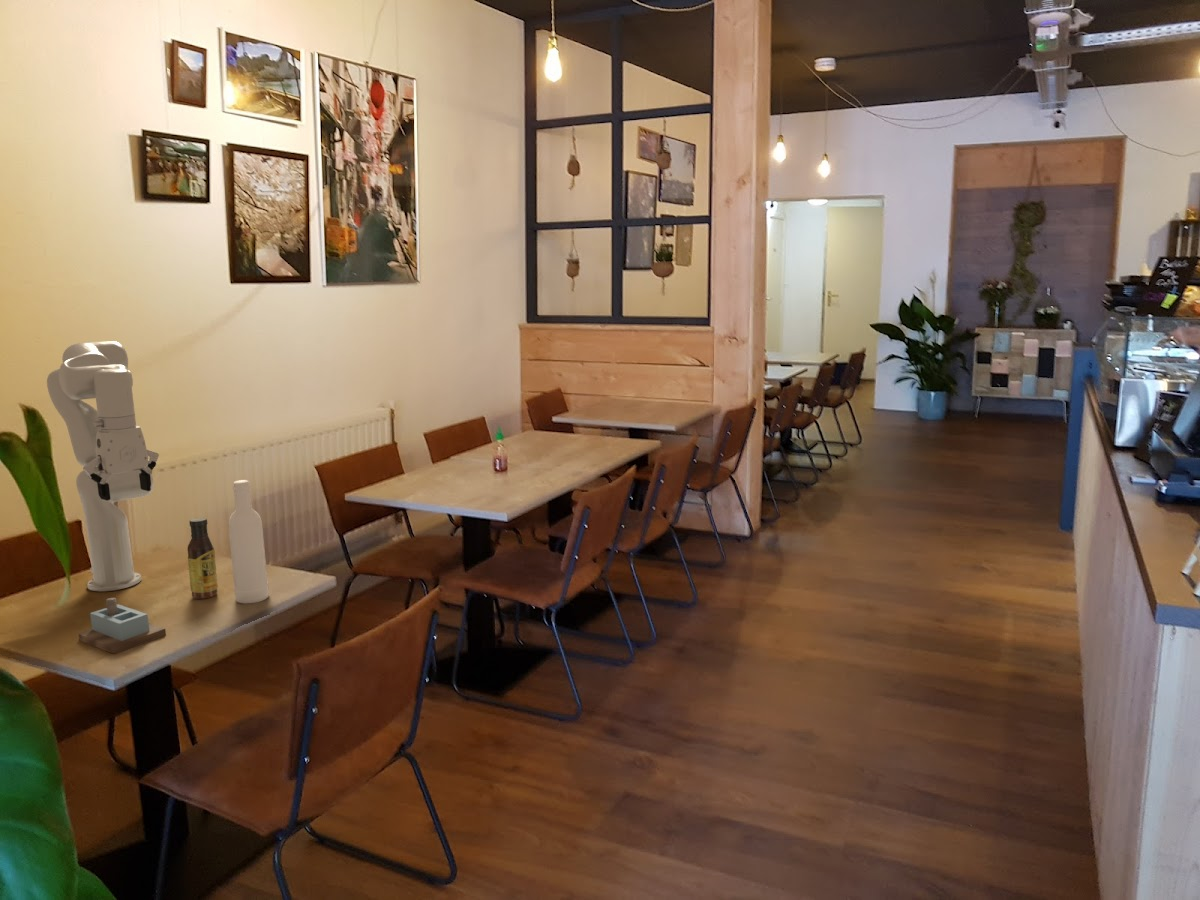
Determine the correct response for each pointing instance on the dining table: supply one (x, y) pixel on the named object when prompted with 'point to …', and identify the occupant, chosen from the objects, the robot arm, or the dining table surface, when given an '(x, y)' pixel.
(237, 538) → the bottle
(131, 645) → the post block
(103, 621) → the hollow blue brick
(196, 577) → the sauce bottle
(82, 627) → the dining table surface
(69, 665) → the dining table surface
